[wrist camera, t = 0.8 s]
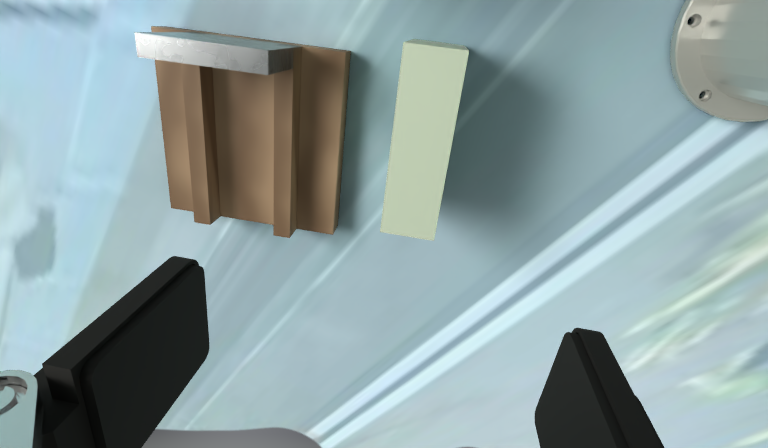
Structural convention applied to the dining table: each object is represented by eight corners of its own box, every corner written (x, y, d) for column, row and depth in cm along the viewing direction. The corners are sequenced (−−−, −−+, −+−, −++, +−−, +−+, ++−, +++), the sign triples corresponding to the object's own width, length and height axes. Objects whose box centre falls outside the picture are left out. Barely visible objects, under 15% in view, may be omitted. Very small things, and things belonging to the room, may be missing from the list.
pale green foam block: (463, 45, 34) (469, 50, 26) (436, 197, 39) (433, 240, 31) (413, 38, 34) (403, 42, 26) (393, 190, 40) (380, 231, 31)
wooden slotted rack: (350, 51, 35) (339, 53, 31) (337, 225, 42) (327, 244, 38) (166, 26, 36) (134, 26, 32) (182, 200, 43) (158, 216, 39)
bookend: (301, 46, 33) (268, 50, 27) (301, 66, 34) (268, 75, 28) (192, 31, 34) (134, 32, 28) (193, 51, 35) (137, 57, 28)
